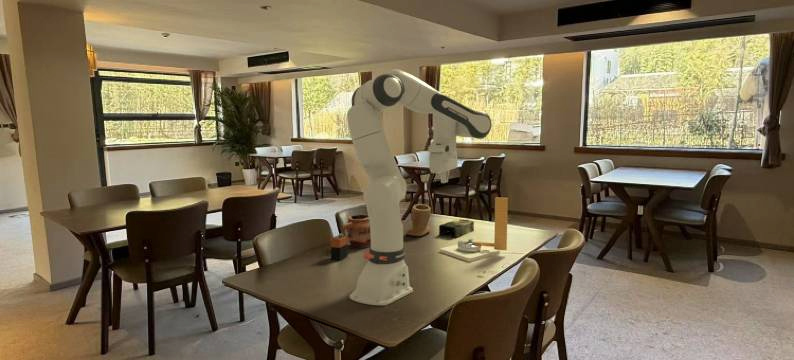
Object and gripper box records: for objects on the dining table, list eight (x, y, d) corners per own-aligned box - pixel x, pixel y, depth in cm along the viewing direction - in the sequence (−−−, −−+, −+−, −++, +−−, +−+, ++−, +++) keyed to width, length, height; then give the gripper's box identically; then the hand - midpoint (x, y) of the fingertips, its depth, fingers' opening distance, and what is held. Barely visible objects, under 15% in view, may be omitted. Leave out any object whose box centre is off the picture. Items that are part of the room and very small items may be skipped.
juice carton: (458, 228, 243) (458, 216, 242) (475, 231, 237) (475, 219, 236) (438, 236, 227) (438, 224, 226) (455, 240, 221) (455, 227, 220)
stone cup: (424, 239, 221) (424, 208, 219) (402, 236, 227) (402, 206, 225) (437, 232, 234) (437, 203, 232) (416, 229, 240) (416, 201, 238)
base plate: (469, 262, 185) (469, 257, 185) (439, 251, 200) (439, 248, 200) (499, 253, 196) (499, 250, 196) (469, 244, 210) (469, 241, 210)
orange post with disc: (455, 251, 194) (456, 198, 191) (459, 245, 204) (460, 194, 201) (505, 255, 188) (506, 200, 185) (507, 248, 198) (508, 196, 195)
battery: (348, 256, 194) (347, 233, 193) (339, 261, 188) (339, 237, 187) (339, 255, 196) (338, 232, 195) (330, 260, 190) (329, 236, 189)
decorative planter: (353, 253, 198) (353, 222, 196) (334, 249, 206) (333, 218, 204) (383, 243, 214) (383, 214, 212) (364, 239, 221) (363, 211, 219)
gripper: (446, 144, 185) (446, 178, 187) (426, 147, 167) (426, 185, 169) (461, 144, 182) (461, 179, 184) (442, 148, 164) (442, 186, 166)
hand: (444, 182), depth 176 cm, fingers closed
